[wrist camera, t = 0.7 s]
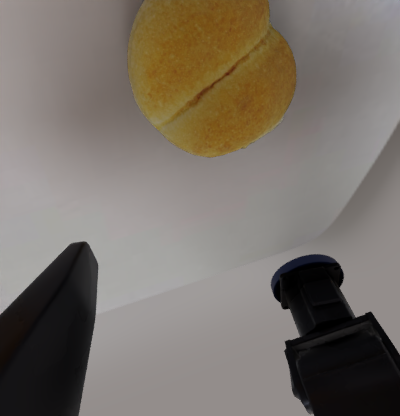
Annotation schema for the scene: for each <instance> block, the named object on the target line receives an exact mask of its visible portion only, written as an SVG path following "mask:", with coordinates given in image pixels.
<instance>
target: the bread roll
mask: <svg viewBox="0 0 400 416" xmlns="http://www.w3.org/2000/svg"><path fill="white" fill-rule="evenodd" d="M269 17H270V14H269V2H268V0H144V2H143V3H142V5H141V7H140V9H139V11H138V13H137V15H136V18H135V20H134V23H133V26H132V30H131V34H130V38H129V43H128V50H127V64H128V75H129V80H130V84H131V88H132V90H133V95H134V98H135V101H136V103H137V105H138V107H139V109H140V110H141V112H142V113H143V115H144V116H145V117H146V118H147V119H148V121H149V122H150V123H151V124H152V125H153V126H155V127H156V128H157V129H158V130H159V131H160V133H161V134H162V135H163V136H164V137H165V138H167V139H168V140H169V141H170V142H171V143H172V144H174V145H175V146H177V147H178V148H180V149H182V150H184V151H186V152H188V153H190V154H193V155H197V156H203V157H216V156H221V155H225V154H228V153H230V152H233V151H236V150H238V149H240V148H241V149H243V148H246V147H247V146H248V145H249V144H250V143H254V142H255V141H256V140H258V139H260V138H261V137H263V136H264V135H266V134H267V133H269V132H271V131H272V130H273V129H275V128H276V126H278V125H279V124H280V122H281V121H282V120H283V118H284V113H285V112H286V110H287V108H288V106H289V105H290V102H291V100H292V98H293V95H294V92H295V87H296V65H295V61H294V57H293V53H292V51H291V49H290V47H289V45H288V43H287V42H286V40H285V39H284V38H283V37H282V35H281V34H280V33H279V32H278V31H276V30H275V29H274V28H273V27H272V25H271V24H270V22H269Z"/></svg>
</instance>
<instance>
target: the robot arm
mask: <svg viewBox="0 0 400 416" xmlns="http://www.w3.org/2000/svg"><path fill="white" fill-rule="evenodd" d="M340 271H341V266H340V264H339V263H337V262H335V263H330V264H325V265H320V266H315V267H310V268H305V269H300V270H296V271H291V272H286V273H282V274H280V276H279V280H280V299H281V307H282V309H284V310H286V309H290V310H291V313H292V316H293V319H294V321H295V324H296V327H297V329H298V332H299V335H300V337H299V338H296V339H293V340H287V341H285V344H286V349H285V351H284V352H285V355H286V358H287V361H288V364H289V369H290V376H291V385H292V391H293V394H294V396H295V397H296V398H298V399H300V400H301V402H302V404H303V405H304V407H305V408H306V410H307V412H308V413H309V414H314V416H400V355H399V353H398V351H397V350H396V348H395V346H394V345H393V343H392V342H391V340H390V339H389V337H388V336H387V335H386V333H385V332H384V330H383V329H382V327H381V326H380V324H379V323H378V321H377V320H376V318H375V317H374V315H373V314H372V312H368V313H365V315H363V316H359V317H357V318H356V317H355V315H354V313H353V312H352V310H351V308H350V306H349V304H348V303H347V301H346V299H345V297H344V295H343V294H342V292H341V290H340V288H339V286H338V285H339V278H340ZM97 281H98V263H97V260H96V258H95V256H94V254H93V252H92V250H91V248H90V246H89V244H88V243H87V242H84V241H83V242H76V243H72V244H70V245H69V246H68V247H67V248H66V249H65V250H64V251H63V252H62V253H61V254H60V255H59V256H58V257H57V258H56V259H55V260H54V261H53V262H52V263H51V264H50V265H49V266H48V267H47V268H46V269H45V270H44V271H43V272H42V273H41V274H40V275H39V276H38V277H37V278H36V279H35V280H34V281H33V282H32V283H31V284H30V285H29V286H28V287H27V288H26V289H25V290H24V291H23V292H22V293H21V294H20V295H19V296H18V297H17V298H16V299H15V300H14V301H13V303H12V304H11V305H10V306H9V307H8V308H7V309H6V310H5V311H4V312H3V313H2V314H1V315H0V416H78V415H79V410H80V403H81V398H82V392H83V387H84V381H85V375H86V370H87V363H88V358H89V352H90V347H91V341H92V335H93V330H94V323H95V315H96V299H97Z"/></svg>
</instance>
